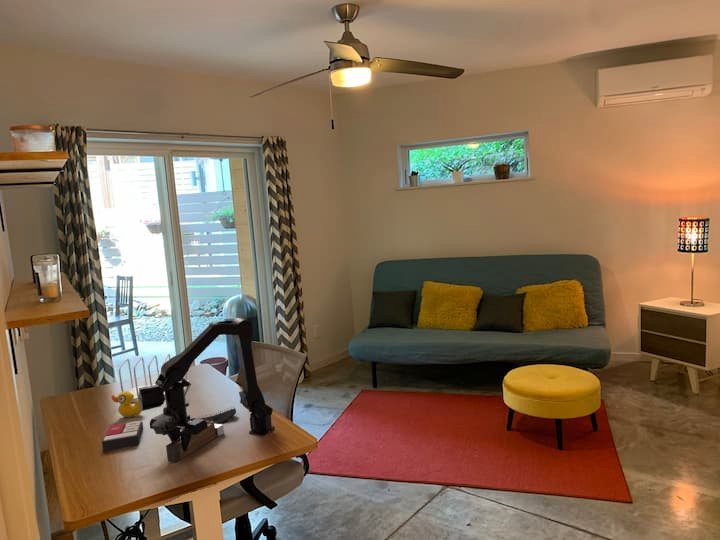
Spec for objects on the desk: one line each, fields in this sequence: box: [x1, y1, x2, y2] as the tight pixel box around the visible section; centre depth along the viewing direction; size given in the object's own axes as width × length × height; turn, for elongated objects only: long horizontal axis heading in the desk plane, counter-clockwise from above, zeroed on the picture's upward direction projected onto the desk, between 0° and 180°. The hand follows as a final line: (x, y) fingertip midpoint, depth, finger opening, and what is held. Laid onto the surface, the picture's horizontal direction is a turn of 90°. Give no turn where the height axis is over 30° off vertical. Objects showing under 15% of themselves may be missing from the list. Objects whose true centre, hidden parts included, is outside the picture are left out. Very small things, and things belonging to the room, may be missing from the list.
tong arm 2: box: [170, 421, 217, 463], centre depth 169 cm, size 1×19×6 cm, turn 155°
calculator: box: [101, 420, 144, 453], centre depth 181 cm, size 11×4×15 cm
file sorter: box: [118, 353, 191, 403], centre depth 226 cm, size 25×17×16 cm
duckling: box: [111, 390, 143, 418], centre depth 202 cm, size 11×5×10 cm, turn 91°
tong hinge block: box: [214, 423, 225, 438], centre depth 180 cm, size 4×3×3 cm
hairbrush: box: [187, 406, 237, 424], centre depth 191 cm, size 8×4×25 cm
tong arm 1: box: [165, 420, 210, 463], centre depth 170 cm, size 1×19×6 cm, turn 156°
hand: (181, 450), depth 165 cm, fingers open, 3 cm apart
